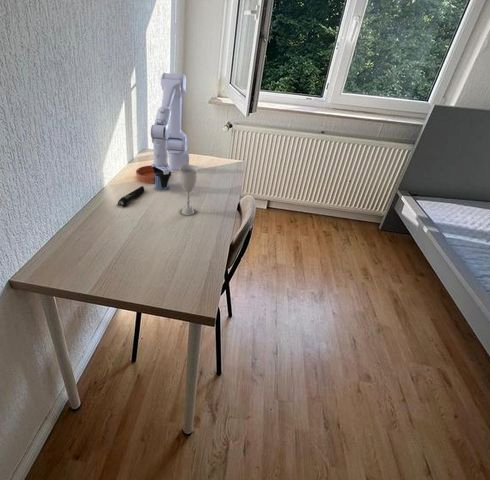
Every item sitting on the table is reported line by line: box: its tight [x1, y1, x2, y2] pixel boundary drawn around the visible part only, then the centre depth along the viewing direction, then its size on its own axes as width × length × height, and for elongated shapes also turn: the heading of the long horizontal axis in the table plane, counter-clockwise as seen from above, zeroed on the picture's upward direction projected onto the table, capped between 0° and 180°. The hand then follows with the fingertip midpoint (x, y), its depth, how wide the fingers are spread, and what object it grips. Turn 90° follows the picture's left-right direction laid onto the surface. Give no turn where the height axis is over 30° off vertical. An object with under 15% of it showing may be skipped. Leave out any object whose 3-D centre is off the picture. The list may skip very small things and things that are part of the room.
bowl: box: [135, 165, 155, 184], centre depth 162 cm, size 14×14×4 cm
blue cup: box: [154, 173, 169, 191], centre depth 152 cm, size 5×5×6 cm
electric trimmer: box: [117, 185, 145, 208], centre depth 143 cm, size 4×16×3 cm, turn 153°
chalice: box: [179, 164, 199, 216], centre depth 132 cm, size 7×7×18 cm
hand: (161, 183), depth 153 cm, fingers open, 7 cm apart
